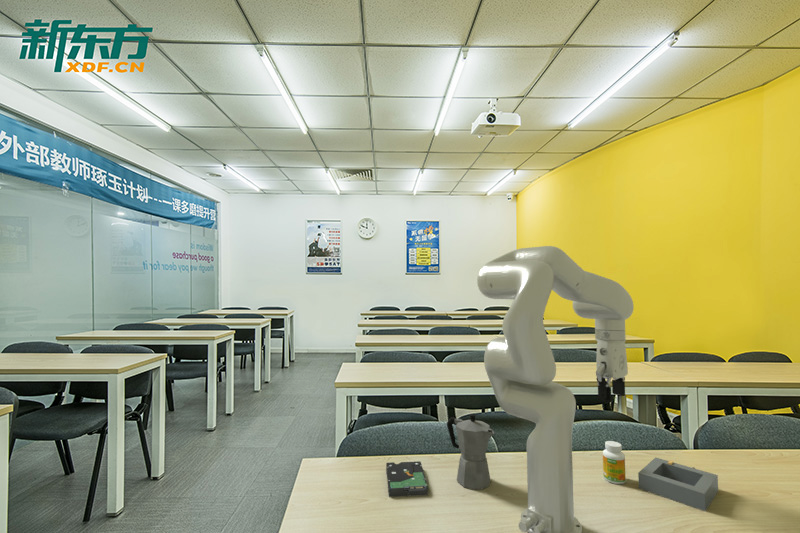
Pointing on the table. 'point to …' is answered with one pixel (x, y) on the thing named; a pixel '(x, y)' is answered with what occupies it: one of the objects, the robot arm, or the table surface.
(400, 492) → the disk drive
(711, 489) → the gray rectangular open box
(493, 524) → the table surface
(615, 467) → the supplement bottle
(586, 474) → the table surface
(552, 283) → the robot arm
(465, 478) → the coffeepot
